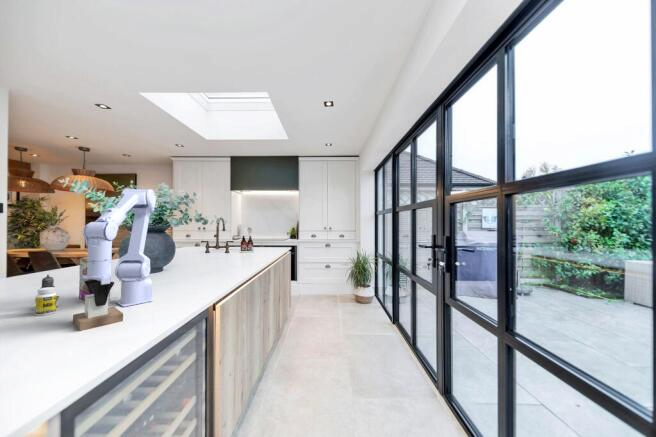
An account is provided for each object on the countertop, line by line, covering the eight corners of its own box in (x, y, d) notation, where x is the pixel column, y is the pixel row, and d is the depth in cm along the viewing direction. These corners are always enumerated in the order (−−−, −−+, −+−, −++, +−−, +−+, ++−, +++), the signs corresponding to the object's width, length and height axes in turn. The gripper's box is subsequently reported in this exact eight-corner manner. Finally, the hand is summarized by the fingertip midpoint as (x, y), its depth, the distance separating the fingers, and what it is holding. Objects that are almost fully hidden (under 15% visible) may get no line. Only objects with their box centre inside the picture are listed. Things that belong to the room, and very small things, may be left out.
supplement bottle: (42, 316, 86) (42, 290, 86) (31, 315, 87) (31, 289, 87) (59, 311, 90) (60, 287, 90) (49, 310, 91) (49, 286, 91)
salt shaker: (31, 309, 92) (32, 275, 92) (53, 304, 97) (54, 272, 97) (39, 312, 90) (40, 276, 90) (62, 306, 95) (63, 273, 95)
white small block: (103, 310, 85) (104, 292, 85) (107, 314, 82) (108, 294, 82) (84, 314, 81) (84, 295, 81) (88, 318, 79) (88, 298, 79)
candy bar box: (77, 299, 104) (78, 257, 104) (92, 296, 109) (93, 256, 109) (96, 302, 100) (97, 259, 100) (110, 299, 105) (112, 258, 105)
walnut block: (113, 315, 89) (113, 306, 89) (122, 323, 83) (123, 313, 83) (72, 324, 81) (73, 314, 81) (79, 333, 75) (80, 322, 75)
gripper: (77, 259, 84) (76, 302, 83) (88, 264, 75) (87, 312, 75) (105, 257, 89) (104, 297, 89) (119, 261, 80) (117, 306, 80)
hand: (98, 303), depth 82 cm, fingers closed on white small block, 5 cm apart
